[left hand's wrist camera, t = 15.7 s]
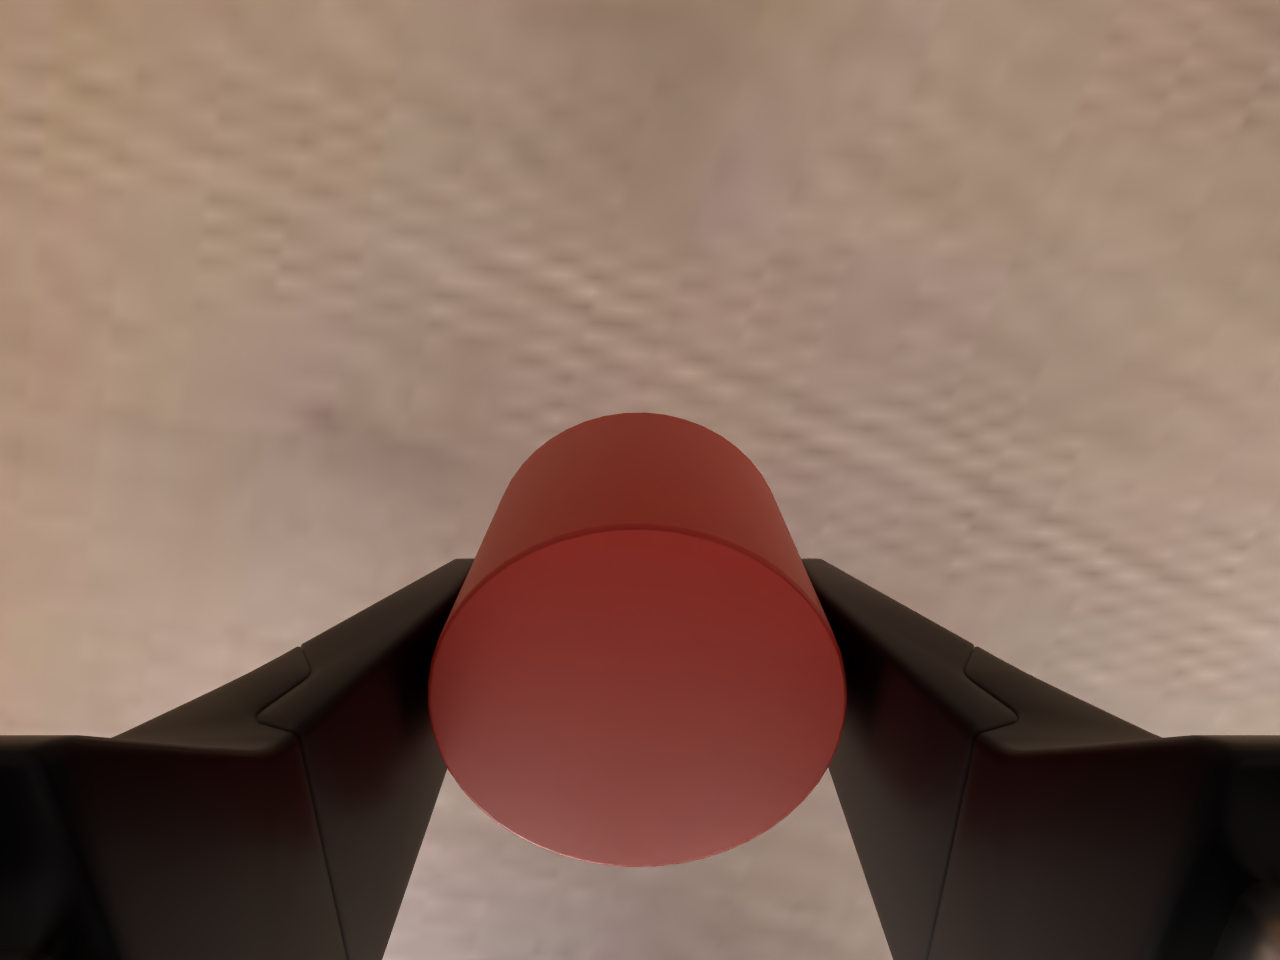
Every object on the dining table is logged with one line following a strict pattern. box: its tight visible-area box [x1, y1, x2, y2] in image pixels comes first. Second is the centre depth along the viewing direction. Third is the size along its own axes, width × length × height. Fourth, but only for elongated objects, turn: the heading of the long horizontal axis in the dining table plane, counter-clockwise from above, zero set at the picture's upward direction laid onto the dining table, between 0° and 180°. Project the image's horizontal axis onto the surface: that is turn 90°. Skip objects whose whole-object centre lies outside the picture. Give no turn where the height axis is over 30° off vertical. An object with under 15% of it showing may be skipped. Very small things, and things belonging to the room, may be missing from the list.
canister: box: [428, 413, 847, 867], centre depth 10 cm, size 5×5×4 cm
